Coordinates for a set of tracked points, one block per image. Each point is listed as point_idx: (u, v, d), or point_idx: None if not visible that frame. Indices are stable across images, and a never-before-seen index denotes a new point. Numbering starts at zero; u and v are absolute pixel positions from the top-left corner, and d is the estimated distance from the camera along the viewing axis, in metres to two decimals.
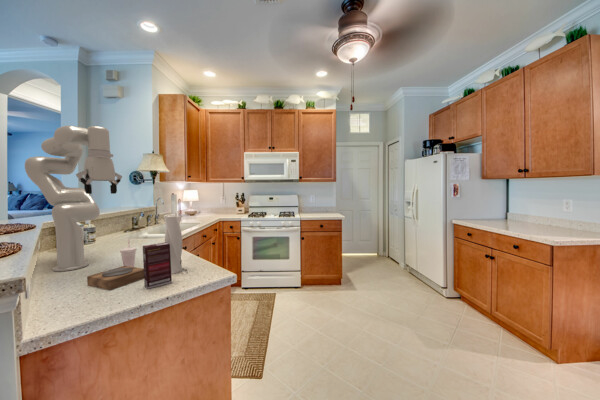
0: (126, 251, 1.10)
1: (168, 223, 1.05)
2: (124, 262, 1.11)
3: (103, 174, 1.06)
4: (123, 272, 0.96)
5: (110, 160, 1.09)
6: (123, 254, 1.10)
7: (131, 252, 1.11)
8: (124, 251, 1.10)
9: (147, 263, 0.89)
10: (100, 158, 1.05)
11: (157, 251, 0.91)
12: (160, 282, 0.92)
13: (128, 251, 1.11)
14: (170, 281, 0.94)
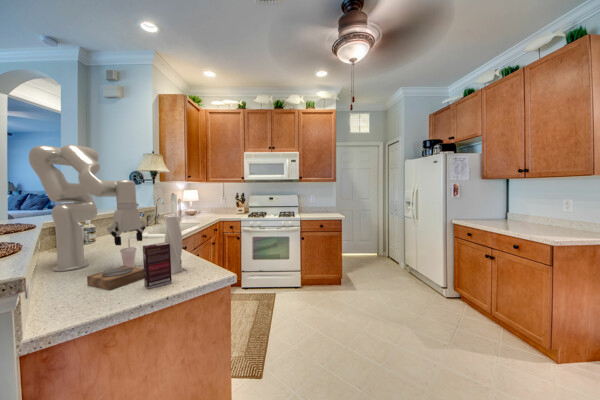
0: (126, 251, 1.10)
1: (168, 223, 1.05)
2: (124, 262, 1.11)
3: (131, 225, 1.12)
4: (123, 272, 0.96)
5: (136, 210, 1.14)
6: (123, 254, 1.10)
7: (131, 252, 1.11)
8: (124, 251, 1.10)
9: (147, 263, 0.89)
10: (128, 210, 1.10)
11: (157, 251, 0.91)
12: (160, 282, 0.92)
13: (128, 251, 1.11)
14: (170, 281, 0.94)
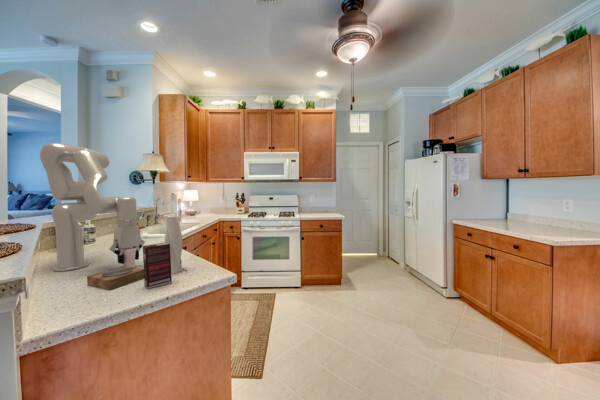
0: (126, 251, 1.10)
1: (168, 223, 1.05)
2: (124, 262, 1.11)
3: (131, 242, 1.12)
4: (123, 272, 0.96)
5: (137, 227, 1.15)
6: (123, 254, 1.10)
7: (131, 252, 1.12)
8: (124, 251, 1.10)
9: (147, 263, 0.89)
10: (128, 227, 1.11)
11: (157, 251, 0.91)
12: (160, 282, 0.92)
13: (128, 251, 1.11)
14: (170, 281, 0.94)
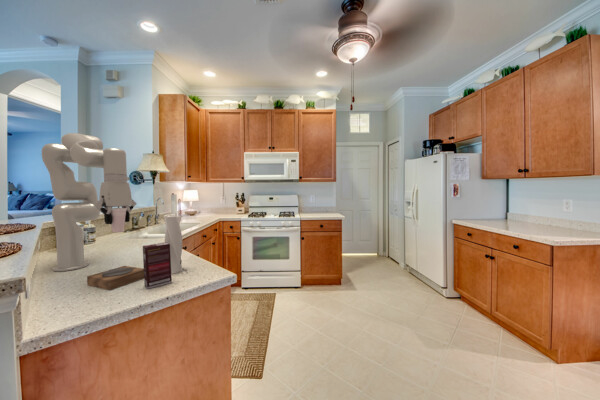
0: (115, 210, 0.96)
1: (168, 223, 1.05)
2: (112, 223, 0.97)
3: (120, 200, 0.98)
4: (123, 272, 0.96)
5: (127, 184, 1.00)
6: (111, 213, 0.96)
7: (120, 211, 0.97)
8: (112, 210, 0.96)
9: (147, 263, 0.89)
10: (117, 183, 0.96)
11: (157, 251, 0.91)
12: (160, 282, 0.92)
13: (117, 210, 0.96)
14: (170, 281, 0.94)
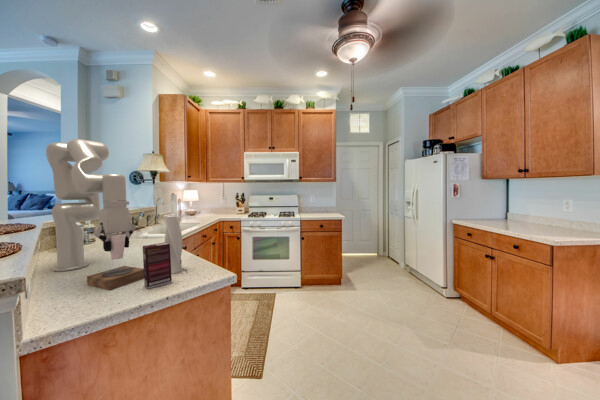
0: (114, 237, 0.94)
1: (168, 223, 1.05)
2: (111, 250, 0.95)
3: (119, 226, 0.96)
4: (123, 272, 0.96)
5: (126, 209, 0.99)
6: (110, 240, 0.94)
7: (120, 238, 0.96)
8: (111, 237, 0.94)
9: (147, 263, 0.89)
10: (116, 209, 0.95)
11: (157, 251, 0.91)
12: (160, 282, 0.92)
13: (116, 237, 0.95)
14: (170, 281, 0.94)
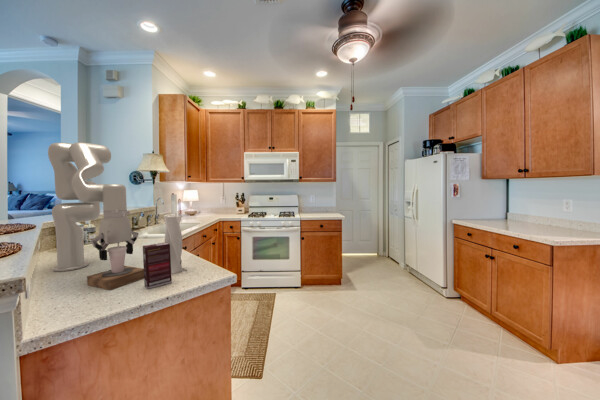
0: (114, 250, 0.95)
1: (168, 223, 1.05)
2: (112, 263, 0.95)
3: (120, 236, 0.96)
4: (123, 272, 0.96)
5: (127, 219, 0.99)
6: (111, 254, 0.95)
7: (120, 252, 0.96)
8: (112, 250, 0.94)
9: (147, 263, 0.89)
10: (116, 219, 0.95)
11: (157, 251, 0.91)
12: (160, 282, 0.92)
13: (117, 250, 0.95)
14: (170, 281, 0.94)
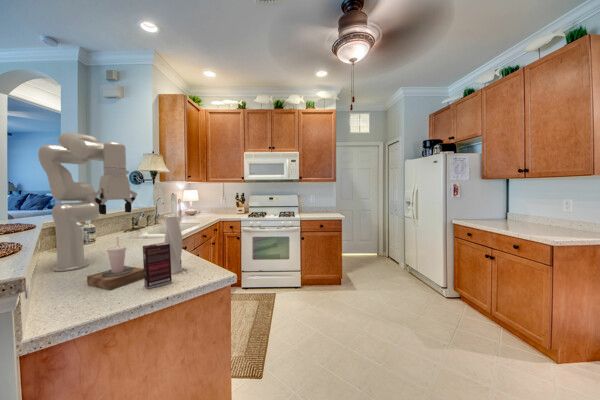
0: (114, 250, 0.95)
1: (168, 223, 1.05)
2: (112, 263, 0.95)
3: (119, 193, 1.00)
4: (123, 272, 0.96)
5: (126, 178, 1.03)
6: (110, 254, 0.95)
7: (120, 252, 0.96)
8: (112, 250, 0.94)
9: (147, 263, 0.89)
10: (116, 176, 0.99)
11: (157, 251, 0.91)
12: (160, 282, 0.92)
13: (116, 250, 0.95)
14: (170, 281, 0.94)
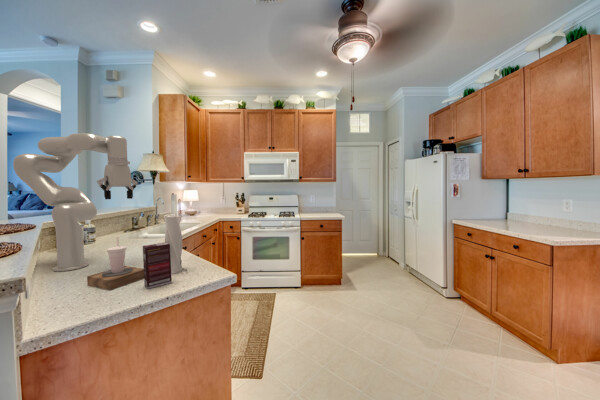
0: (114, 250, 0.95)
1: (168, 223, 1.05)
2: (112, 263, 0.95)
3: (122, 181, 1.13)
4: (123, 272, 0.96)
5: (127, 167, 1.15)
6: (110, 254, 0.95)
7: (120, 252, 0.96)
8: (112, 250, 0.94)
9: (147, 263, 0.89)
10: (119, 166, 1.11)
11: (157, 251, 0.91)
12: (160, 282, 0.92)
13: (116, 250, 0.95)
14: (170, 281, 0.94)
